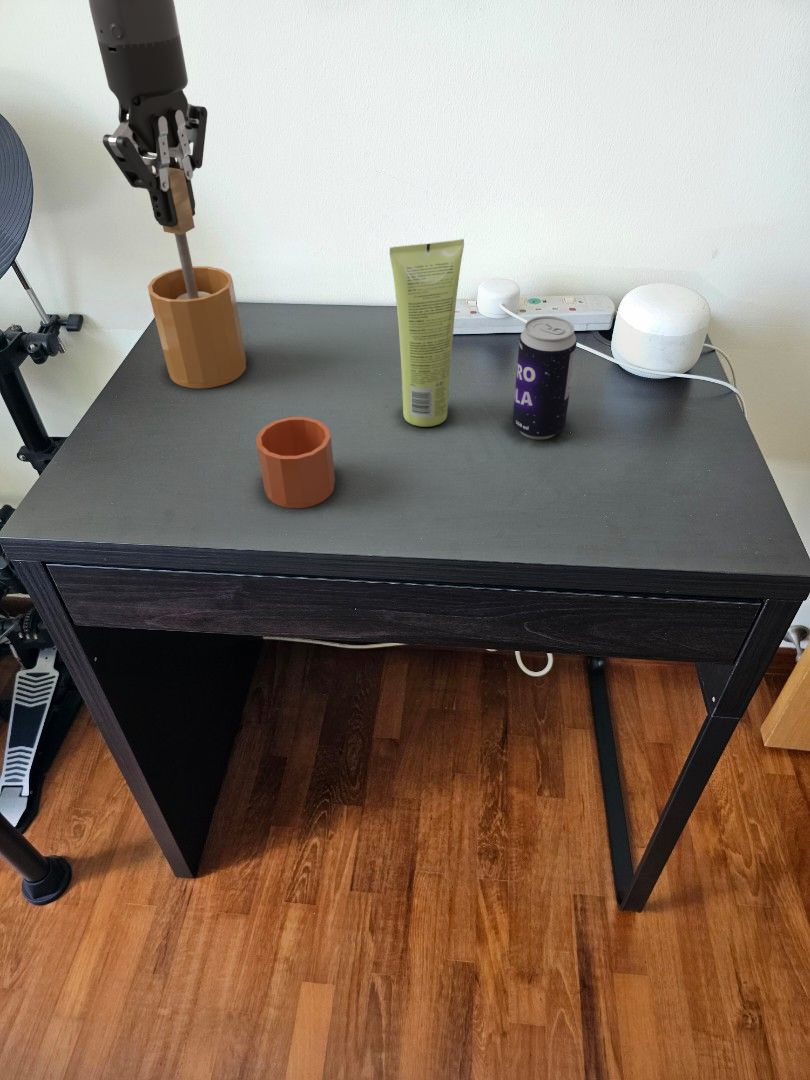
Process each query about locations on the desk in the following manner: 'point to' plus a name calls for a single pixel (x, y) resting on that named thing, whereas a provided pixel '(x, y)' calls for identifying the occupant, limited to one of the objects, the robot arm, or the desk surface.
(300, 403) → the desk surface
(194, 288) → the brush
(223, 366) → the orange pen cup
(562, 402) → the beverage can
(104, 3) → the robot arm
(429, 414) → the tube
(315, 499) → the cup
